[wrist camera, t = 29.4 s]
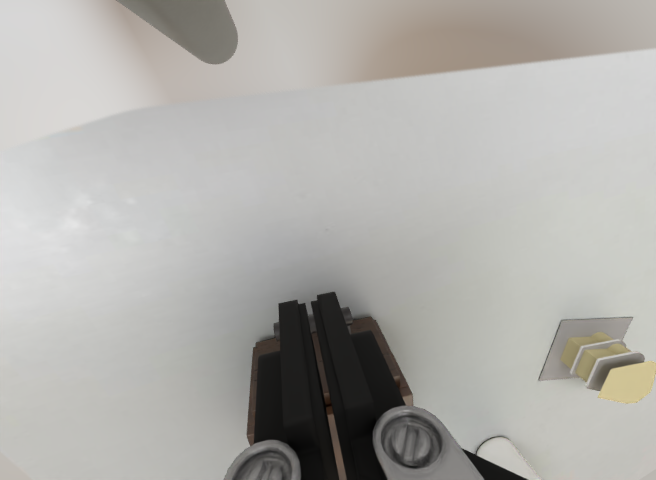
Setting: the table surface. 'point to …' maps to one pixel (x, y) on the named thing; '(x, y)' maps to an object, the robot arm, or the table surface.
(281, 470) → the robot arm
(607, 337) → the stacked layers on plate
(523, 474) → the drinking glass
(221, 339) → the table surface
